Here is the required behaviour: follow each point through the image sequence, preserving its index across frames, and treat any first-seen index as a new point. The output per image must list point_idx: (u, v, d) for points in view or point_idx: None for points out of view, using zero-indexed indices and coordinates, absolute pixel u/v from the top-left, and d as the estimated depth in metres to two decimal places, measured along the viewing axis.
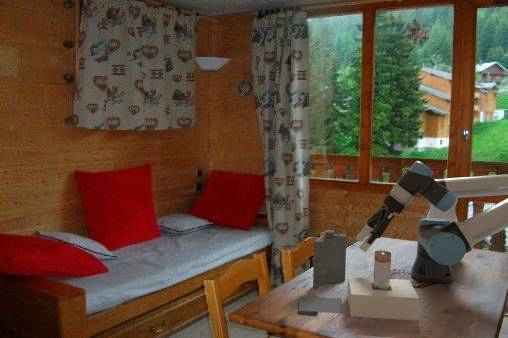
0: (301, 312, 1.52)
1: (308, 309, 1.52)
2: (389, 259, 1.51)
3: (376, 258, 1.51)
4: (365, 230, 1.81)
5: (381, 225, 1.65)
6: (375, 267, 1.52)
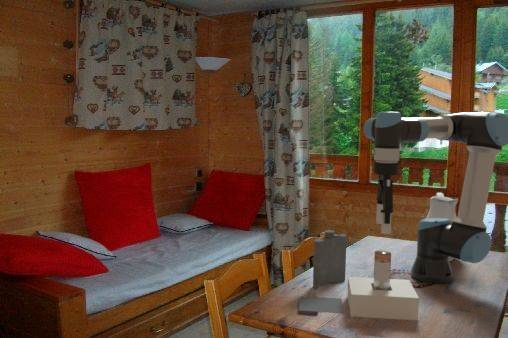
0: (301, 312, 1.52)
1: (308, 309, 1.52)
2: (389, 259, 1.51)
3: (376, 258, 1.51)
4: (379, 210, 1.58)
5: (385, 197, 1.42)
6: (375, 267, 1.52)
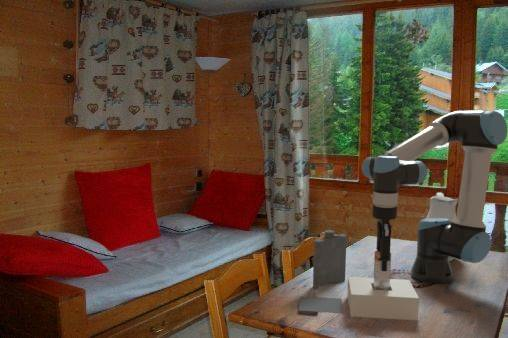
0: (301, 312, 1.52)
1: (308, 309, 1.52)
2: None
3: (376, 258, 1.51)
4: None
5: (383, 247, 1.46)
6: (375, 267, 1.52)
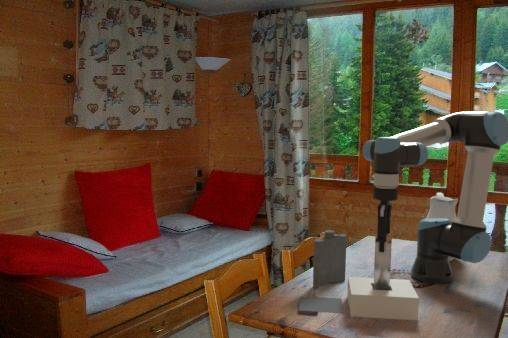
0: (301, 312, 1.52)
1: (308, 309, 1.52)
2: (388, 241, 1.50)
3: None
4: None
5: (378, 228, 1.46)
6: (375, 248, 1.52)
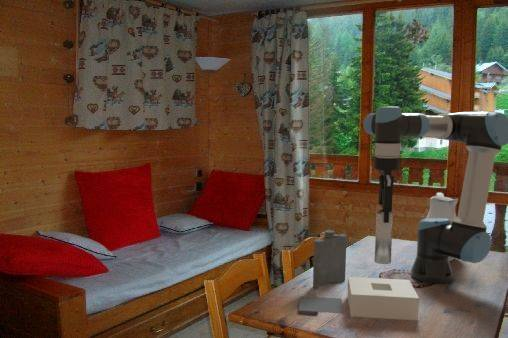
0: (301, 312, 1.52)
1: (308, 309, 1.52)
2: None
3: (378, 210, 1.50)
4: None
5: (385, 198, 1.44)
6: (377, 220, 1.50)
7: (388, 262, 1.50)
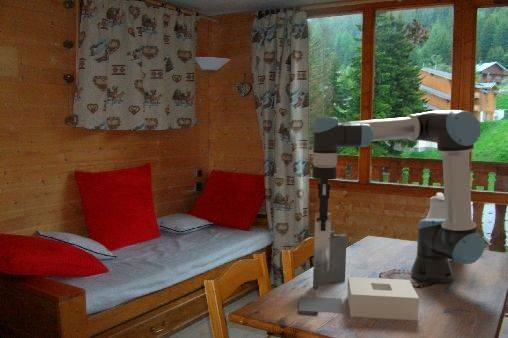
0: (301, 312, 1.52)
1: (308, 309, 1.52)
2: (329, 219, 1.52)
3: (316, 219, 1.52)
4: None
5: (321, 206, 1.47)
6: (315, 228, 1.53)
7: (326, 269, 1.53)
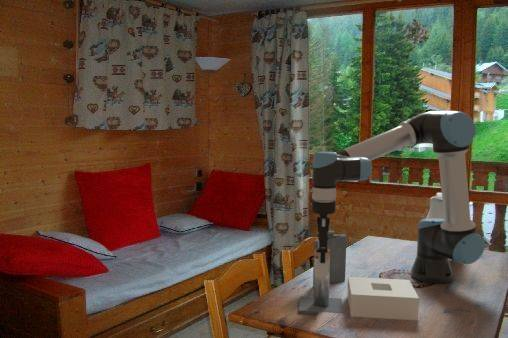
0: (301, 312, 1.52)
1: (308, 309, 1.52)
2: (328, 256, 1.53)
3: (315, 255, 1.54)
4: None
5: (320, 238, 1.46)
6: (315, 264, 1.55)
7: (325, 305, 1.55)
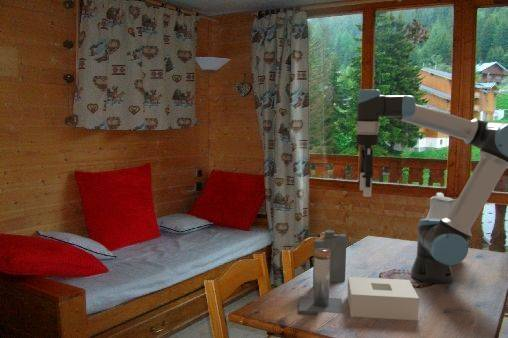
0: (301, 312, 1.52)
1: (308, 309, 1.52)
2: (328, 256, 1.53)
3: (316, 255, 1.54)
4: (362, 178, 1.77)
5: (366, 164, 1.62)
6: (315, 264, 1.54)
7: (325, 305, 1.55)
